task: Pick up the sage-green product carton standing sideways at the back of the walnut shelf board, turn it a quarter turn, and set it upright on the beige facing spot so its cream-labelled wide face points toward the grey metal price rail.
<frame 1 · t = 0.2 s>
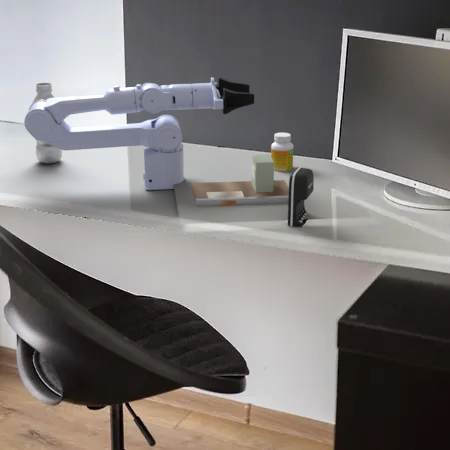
hand: (251, 93, 188), 21 cm above the table, tool horizontal, fingers open, 7 cm apart
shelf board: (241, 196, 187), on the table
carton: (262, 187, 189), point 1 cm above the table, touching shelf board
plastic bottle: (49, 163, 209), on the table
supplement bottle: (281, 173, 203), on the table
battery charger: (300, 223, 172), on the table
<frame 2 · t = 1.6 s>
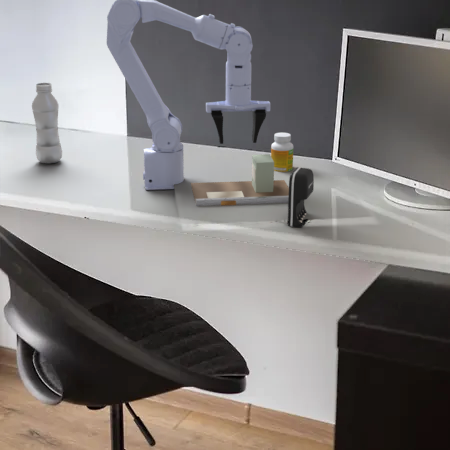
hand: (237, 142, 190), 10 cm above the table, tool pointing down, fingers open, 7 cm apart
nothing on the table moved.
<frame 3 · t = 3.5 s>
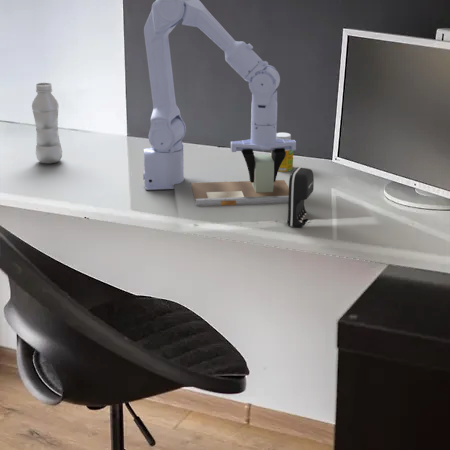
hand: (262, 180, 188), 3 cm above the table, tool pointing down, fingers closed on carton, 4 cm apart
carton: (262, 187, 189), point 1 cm above the table, touching gripper, shelf board
everything else where it was.
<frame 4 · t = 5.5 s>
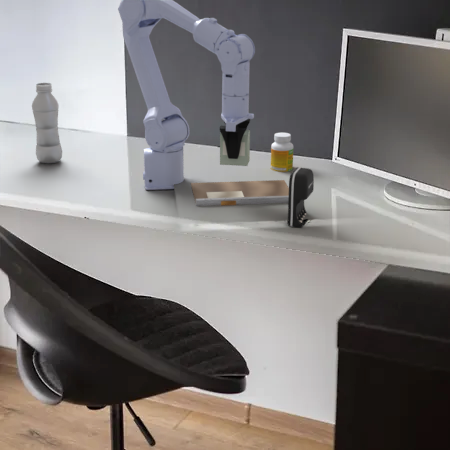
hand: (234, 155, 181), 10 cm above the table, tool pointing down, fingers closed on carton, 4 cm apart
carton: (234, 162, 182), point 9 cm above the table, touching gripper
everything else where it was.
when the fingers open (4 cm above the table, at t = 7.9 s): carton stays where it is, resting on shelf board.
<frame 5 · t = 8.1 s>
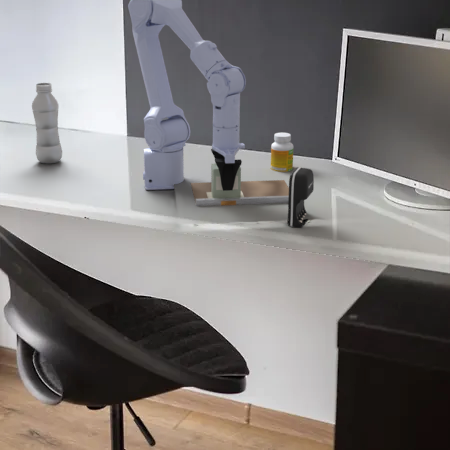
hand: (225, 185, 182), 4 cm above the table, tool pointing down, fingers open, 6 cm apart
carton: (225, 196, 183), point 1 cm above the table, touching shelf board
everything else where it was.
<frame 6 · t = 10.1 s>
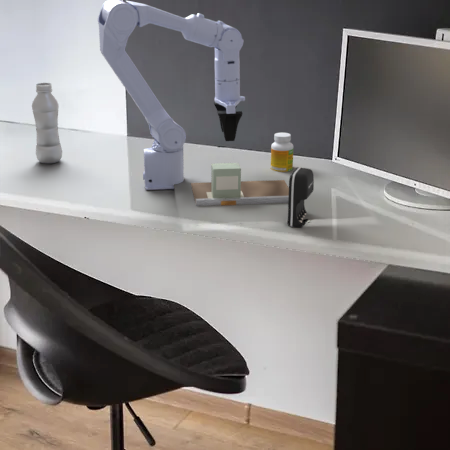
hand: (228, 136, 195), 10 cm above the table, tool pointing down, fingers open, 7 cm apart
nothing on the table moved.
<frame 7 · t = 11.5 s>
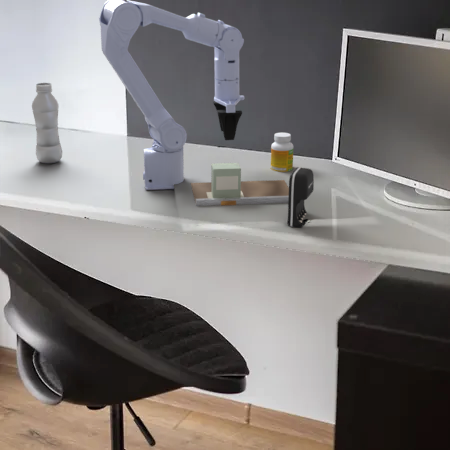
hand: (227, 135, 196), 10 cm above the table, tool pointing down, fingers open, 7 cm apart
nothing on the table moved.
at the end: carton 0.0 cm from the target spot on the shelf board, point 1.3 cm above the shelf board's base; carton tilted 0°; the gripper is holding nothing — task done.
